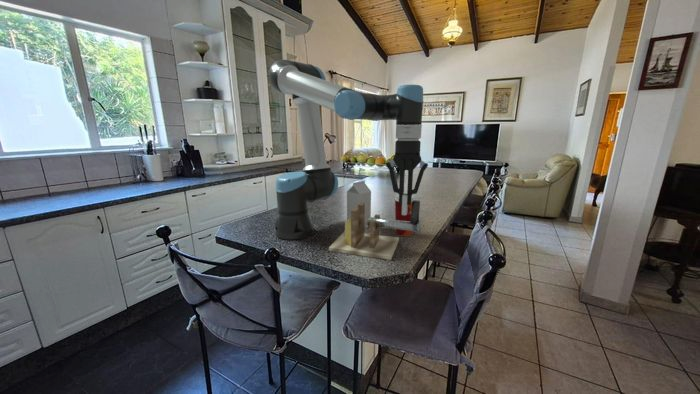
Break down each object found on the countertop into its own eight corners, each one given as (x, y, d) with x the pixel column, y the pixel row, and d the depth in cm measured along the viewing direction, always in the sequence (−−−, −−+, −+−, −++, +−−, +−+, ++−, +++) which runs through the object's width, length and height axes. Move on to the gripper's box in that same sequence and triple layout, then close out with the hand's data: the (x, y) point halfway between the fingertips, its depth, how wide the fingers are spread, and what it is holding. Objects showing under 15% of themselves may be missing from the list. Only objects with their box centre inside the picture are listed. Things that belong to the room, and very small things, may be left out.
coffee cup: (414, 238, 103) (416, 199, 99) (392, 236, 104) (393, 198, 101) (414, 230, 111) (416, 194, 107) (393, 228, 112) (394, 193, 109)
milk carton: (370, 226, 115) (371, 181, 111) (359, 230, 110) (359, 184, 106) (358, 222, 120) (358, 179, 115) (346, 226, 115) (346, 181, 110)
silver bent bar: (366, 229, 92) (367, 198, 90) (370, 225, 96) (370, 195, 94) (418, 235, 87) (421, 203, 84) (420, 231, 91) (422, 199, 88)
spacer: (345, 244, 94) (344, 222, 92) (352, 236, 102) (352, 215, 100) (352, 245, 93) (352, 223, 91) (358, 236, 101) (359, 216, 99)
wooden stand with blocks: (328, 250, 92) (328, 210, 89) (345, 233, 107) (344, 199, 103) (390, 260, 86) (392, 217, 82) (399, 240, 100) (400, 203, 97)
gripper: (384, 140, 82) (382, 215, 88) (429, 140, 78) (424, 219, 83) (389, 139, 89) (387, 209, 94) (430, 139, 85) (426, 212, 90)
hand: (404, 213), depth 89 cm, fingers closed
